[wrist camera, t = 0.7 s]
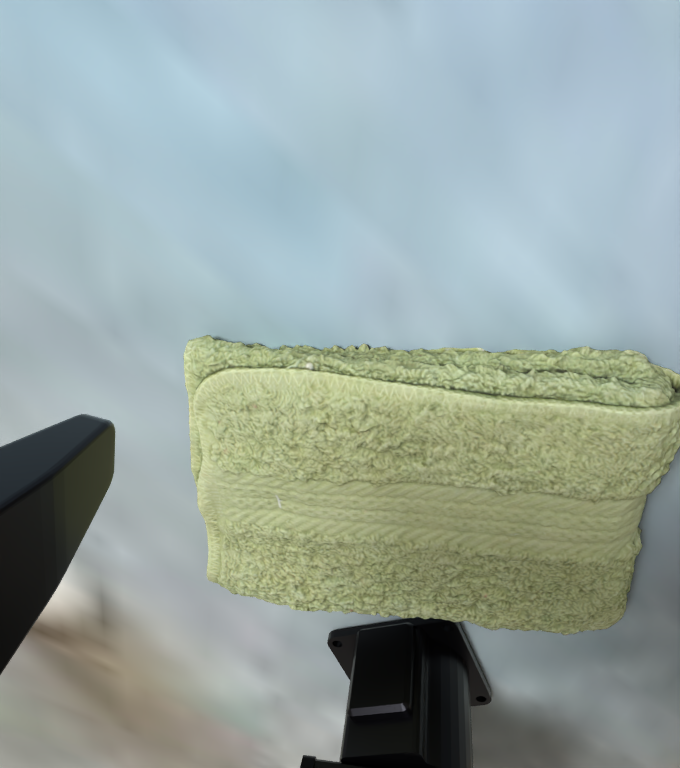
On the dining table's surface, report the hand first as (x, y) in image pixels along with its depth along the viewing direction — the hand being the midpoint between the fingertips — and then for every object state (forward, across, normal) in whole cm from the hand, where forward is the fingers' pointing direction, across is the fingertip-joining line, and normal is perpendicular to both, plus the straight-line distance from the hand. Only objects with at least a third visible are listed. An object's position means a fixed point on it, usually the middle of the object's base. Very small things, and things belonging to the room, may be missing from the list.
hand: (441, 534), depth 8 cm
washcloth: (+14, -2, +10) cm, 17 cm away
